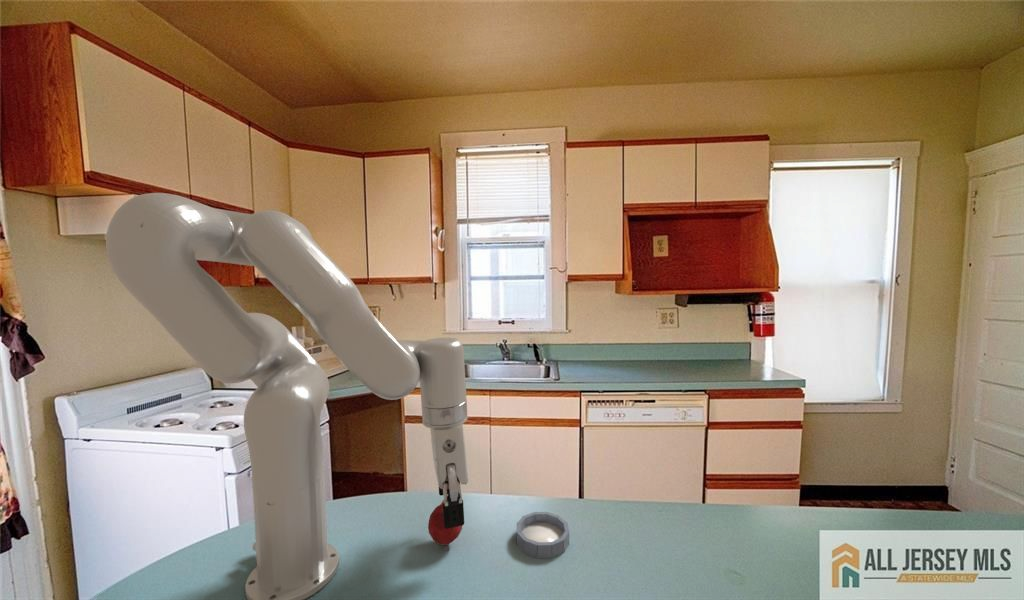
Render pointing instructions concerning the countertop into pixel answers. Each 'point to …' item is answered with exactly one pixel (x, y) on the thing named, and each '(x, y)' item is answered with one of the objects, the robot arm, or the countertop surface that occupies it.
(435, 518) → the onion
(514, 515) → the countertop surface
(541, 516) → the gray dish
